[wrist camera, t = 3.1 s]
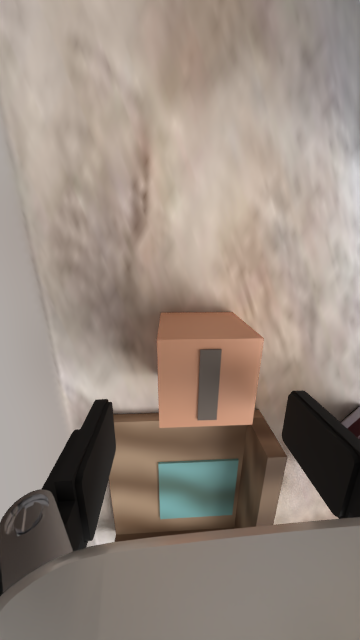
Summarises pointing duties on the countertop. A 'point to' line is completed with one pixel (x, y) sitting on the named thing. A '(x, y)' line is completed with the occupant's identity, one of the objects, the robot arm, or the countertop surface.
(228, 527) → the corner board
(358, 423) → the supplement box
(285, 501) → the countertop surface
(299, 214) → the countertop surface
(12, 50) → the countertop surface
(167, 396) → the brown box
